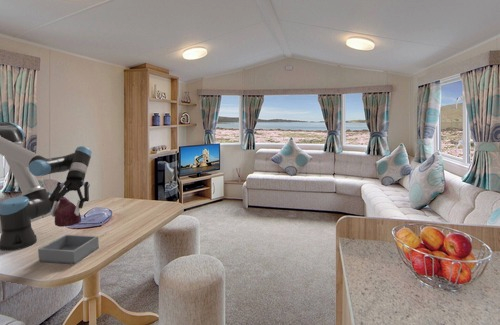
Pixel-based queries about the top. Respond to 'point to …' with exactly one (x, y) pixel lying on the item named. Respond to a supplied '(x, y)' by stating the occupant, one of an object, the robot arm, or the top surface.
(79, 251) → the slate bin
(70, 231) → the top surface
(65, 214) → the vegetable
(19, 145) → the robot arm
